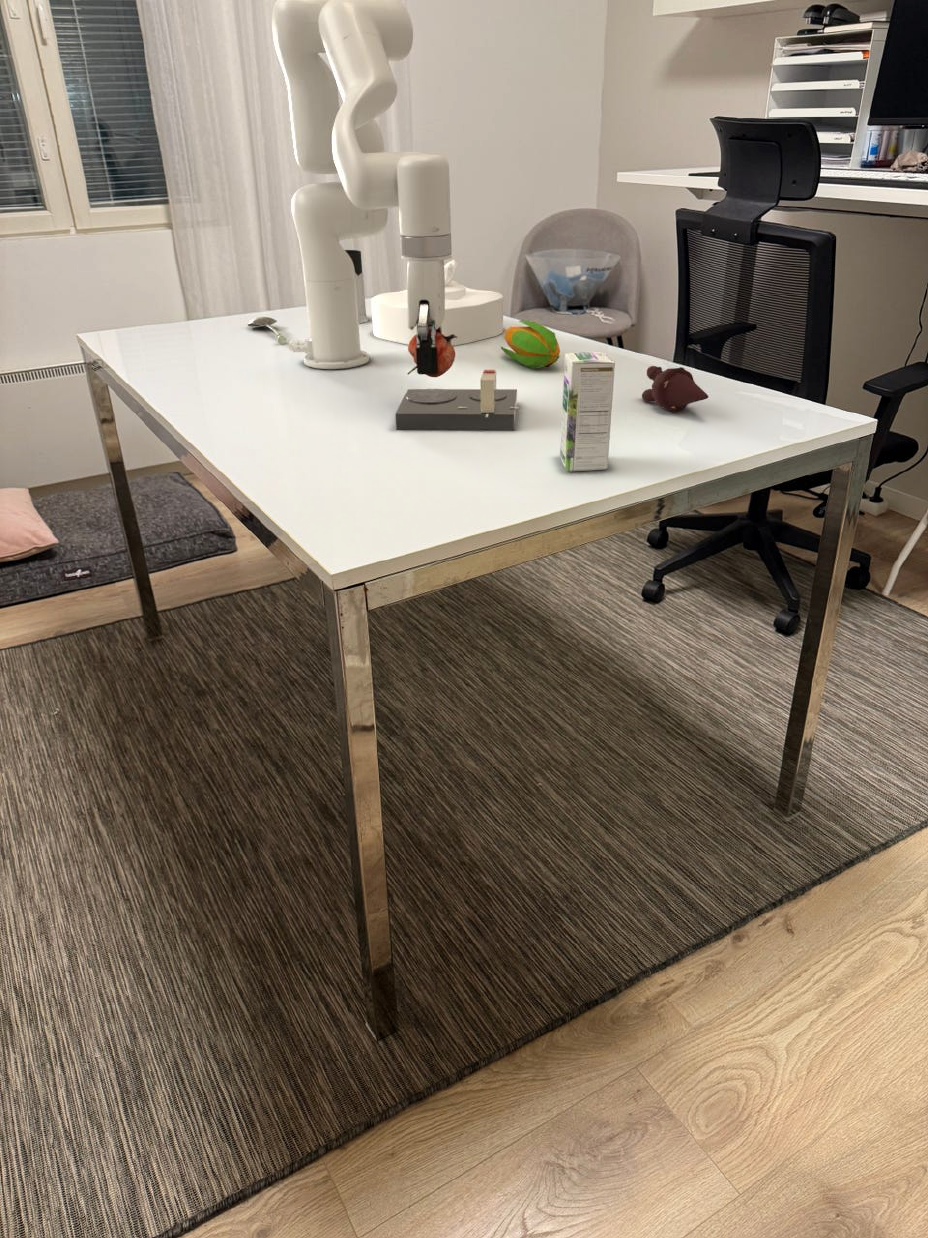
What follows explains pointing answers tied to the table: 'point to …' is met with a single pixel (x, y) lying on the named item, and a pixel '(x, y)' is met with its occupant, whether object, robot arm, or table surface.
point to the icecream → (672, 388)
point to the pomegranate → (444, 352)
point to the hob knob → (488, 391)
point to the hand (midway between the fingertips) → (430, 366)
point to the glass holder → (359, 284)
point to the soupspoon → (267, 322)
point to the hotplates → (444, 396)
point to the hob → (457, 413)
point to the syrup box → (586, 411)
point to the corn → (532, 345)
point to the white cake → (464, 313)
